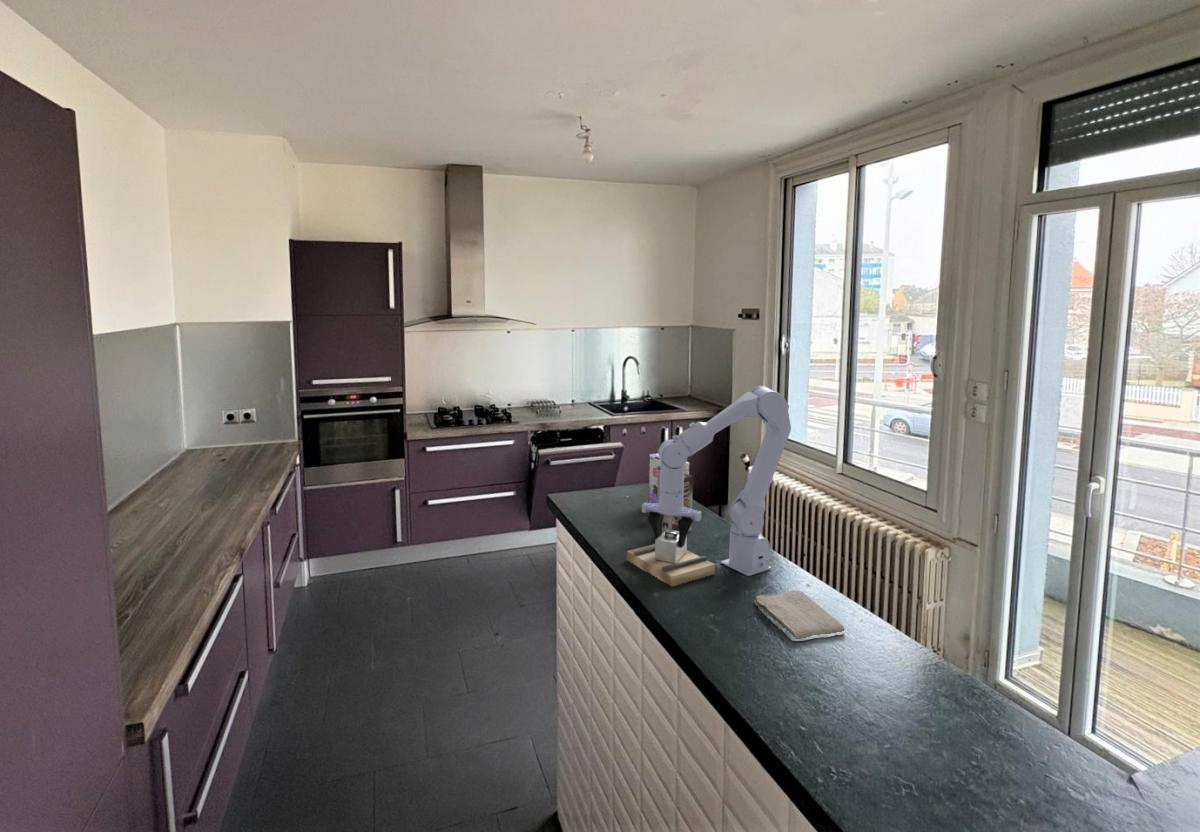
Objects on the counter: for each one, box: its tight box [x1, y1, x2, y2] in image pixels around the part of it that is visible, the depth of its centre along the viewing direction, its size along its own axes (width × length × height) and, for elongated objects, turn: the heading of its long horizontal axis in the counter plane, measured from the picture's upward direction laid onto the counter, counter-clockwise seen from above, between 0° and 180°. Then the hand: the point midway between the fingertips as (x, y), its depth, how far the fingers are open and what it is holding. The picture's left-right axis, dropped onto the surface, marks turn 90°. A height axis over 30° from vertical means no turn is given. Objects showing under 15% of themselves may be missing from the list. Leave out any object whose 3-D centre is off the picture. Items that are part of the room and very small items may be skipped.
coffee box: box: [657, 474, 694, 533], centre depth 190 cm, size 9×6×16 cm
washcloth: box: [753, 590, 846, 639], centre depth 143 cm, size 12×18×3 cm, turn 16°
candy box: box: [648, 452, 691, 504], centre depth 210 cm, size 14×6×16 cm, turn 28°
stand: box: [626, 543, 716, 587], centre depth 168 cm, size 18×13×3 cm
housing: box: [654, 529, 688, 563], centre depth 168 cm, size 8×5×6 cm, turn 154°
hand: (670, 544), depth 168 cm, fingers closed on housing, 5 cm apart
